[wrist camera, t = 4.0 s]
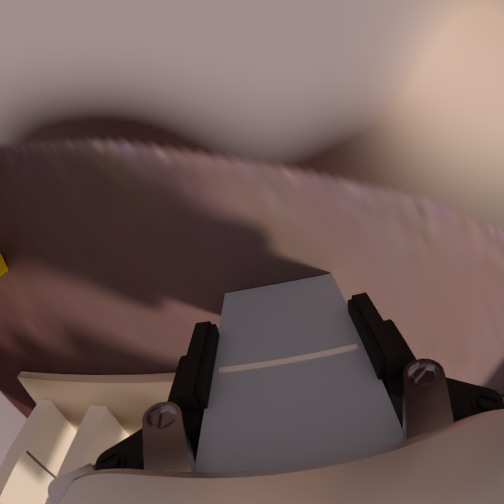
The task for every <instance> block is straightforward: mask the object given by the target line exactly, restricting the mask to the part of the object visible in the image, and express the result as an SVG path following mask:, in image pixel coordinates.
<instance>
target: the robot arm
mask: <svg viewBox="0 0 504 504" xmlns="http://www.w3.org/2000/svg"><path fill="white" fill-rule="evenodd" d="M348 313H349V315H350V317H351V319H352V321H353V324H354V326H355V328H356V330H357V332H358V335H359V337H360V339H361V341H362V343H363V346H364V348H365V350H366V352H367V355H368V357H369V359H370V362H371V364H372V366H373V369H374V371H375V373H376V376H377V378H378V380H381V379H382V382H383V384H384V386H385V389H386V391H387V393H388V396H389V398H390V401H391V403H392V405H393V408H394V410H395V413H396V415H397V418H398V420H399V423H400V425H401V428H402V430H403V441H400V442H397V443H394V444H391V445H388V446H384V447H381V448H377V449H374V450H370V451H366V452H362V453H358V454H354V455H350V456H345V457H341V458H336V459H331V460H326V461H321V462H315V463H309V464H303V465H296V466H289V467H281V468H272V469H261V470H248V471H230V472H197V470H196V465H195V463H196V457H197V451H198V445H199V438H200V432H201V426H202V420H203V414H204V409H208V402H209V396H210V390H211V384H212V378H213V372H214V366H215V360H216V354H217V348H218V342H219V336H220V334H219V331H218V328H217V326H216V324H212V323H211V322H210V321H208V322H201V323H196V325H195V328H194V331H193V335H192V338H191V342H190V345H189V348H188V352H187V355H186V356H182V357H181V358H180V360H179V364H178V367H177V370H176V374H175V377H174V380H173V383H172V387H171V390H170V394H169V397H168V400H167V402H160V403H157V404H154V405H153V406H151V407H150V408H149V409H148V410H147V411H146V412H145V413H144V415H143V419H142V428H141V429H140V430H138V431H137V432H135V433H133V434H132V435H130V436H129V437H127V438H125V439H124V440H122V441H121V442H119V443H117V444H116V445H114V446H112V447H111V448H109V449H107V450H105V451H104V452H103V453H101V454H100V456H99V457H98V458H97V461H96V464H95V465H93V464H92V463H89V464H87V465H85V466H83V467H80V468H78V469H76V470H74V471H71V472H69V473H67V474H64V475H62V476H59V477H57V478H55V479H54V480H52V481H51V483H50V484H49V486H48V495H49V499H50V503H51V504H504V399H503V398H502V397H501V395H500V394H499V393H498V392H497V391H495V390H492V389H490V388H485V387H481V386H477V385H473V384H469V383H465V382H461V381H458V380H454V379H450V378H446V377H445V372H444V369H443V367H442V366H441V365H440V364H439V363H438V362H436V361H434V360H431V359H424V358H421V359H417V360H416V358H415V356H414V355H413V353H412V351H411V350H410V348H409V346H408V345H407V343H406V342H405V340H404V338H403V337H402V335H401V334H400V332H399V330H398V329H397V327H396V326H395V324H394V322H393V321H392V320H390V319H389V320H386V321H383V319H382V318H381V316H380V314H379V313H378V311H377V309H376V308H375V306H374V304H373V303H372V301H371V300H370V298H369V296H368V295H367V293H361V294H356V295H352V299H351V300H348Z"/></svg>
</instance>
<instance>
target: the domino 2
mask: <svg viewBox="0 0 504 504" xmlns="http://www.w3.org/2000/svg"><path fill="white" fill-rule="evenodd" d="M127 437H129V435H128V433H127V432H126V431H125V430H124V428H123V427H122V426H121V425H120V423H119V422H118V421H117V419H116V418H115V417H114V415H113V414H112V413H111V411H110V410H109V409H108V407H107V406H96V405H90V406H89V408H88V410H87V412H86V414H85V416H84V418H83V420H82V422H81V424H80V426H79V428H78V431H77V433H76V435H75V437H74V439H73V441H72V443H71V445H70V447H69V450H68V452H67V454H66V456H65V458H64V460H63V463H62V465H61V467H60V469H59V472H58V474H57V476H56V478H57V477H59V476H62V475H64V474H67V473H69V472H71V471H74V470H76V469H78V468H80V467H83V466H85V465H87V464H89V463H92V464H93V465H95V464H96V461H97V458H98V457H99V456H100V454H101V453H103V452H104V451H105V450H107V449H109V448H111V447H112V446H114V445H116V444H117V443H119V442H121V441H122V440H124V439H125V438H127ZM45 504H51V503H50V499H49V495H48V498H47V500H46V503H45Z"/></svg>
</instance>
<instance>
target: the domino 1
mask: <svg viewBox="0 0 504 504" xmlns="http://www.w3.org/2000/svg"><path fill="white" fill-rule="evenodd" d="M76 433H77V431H76V430H75V429H74V428H73V427H72V425H71V424H70V423H69V422H68V421H67V419H66V418H65V417H64V416H63V415H62V413H61V412H60V411H59V410H58V408H57V407H56V406H55V404H54V403H53V402H52V401H49V400H42V399H40V400H39V402H38V403H37V405H36V406H35V408H34V409H33V411H32V413H31V414H30V416H29V417H28V419H27V421H26V423H25V424H24V426H23V428H22V429H21V431H20V433H19V434H18V436H17V438H16V439H15V441H14V443H13V445H12V446H11V448H10V450H9V452H8V454H7V455H6V457H5V459H4V461H3V463H2V465H1V467H0V504H45V503H46V500H47V498H48V486H49V484H50V483H51V481H52V480H54V479H55V478H56V476H57V474H58V472H59V469H60V467H61V465H62V463H63V460H64V458H65V456H66V454H67V452H68V450H69V447H70V445H71V443H72V441H73V439H74V437H75V435H76Z"/></svg>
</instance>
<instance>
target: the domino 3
mask: <svg viewBox="0 0 504 504" xmlns="http://www.w3.org/2000/svg"><path fill="white" fill-rule="evenodd" d="M218 331H219V334H220V336H219V342H218V348H217V354H216V360H215V366H214V372H213V378H212V384H211V390H210V396H209V402H208V409H204V414H203V420H202V426H201V432H200V438H199V445H198V451H197V457H196V463H195V465H196V470H197V472H230V471H248V470H261V469H272V468H281V467H289V466H296V465H303V464H309V463H315V462H321V461H326V460H331V459H336V458H341V457H345V456H350V455H354V454H358V453H362V452H366V451H370V450H374V449H377V448H381V447H384V446H388V445H391V444H394V443H397V442H400V441H403V430H402V428H401V425H400V423H399V420H398V418H397V415H396V413H395V410H394V408H393V405H392V403H391V401H390V398H389V396H388V393H387V391H386V389H385V386H384V384H383V382H382V379H381V380H378V378H377V376H376V373H375V371H374V369H373V366H372V364H371V362H370V359H369V357H368V355H367V352H366V350H365V348H364V346H363V343H362V341H361V339H360V337H359V335H358V332H357V330H356V328H355V326H354V324H353V321H352V319H351V317H350V315H349V313H348V306H347V304H346V302H345V299H344V297H343V295H342V293H341V291H340V289H339V287H338V285H337V283H336V281H335V279H334V277H333V275H332V273H331V274H326V275H321V276H316V277H310V278H305V279H300V280H295V281H290V282H285V283H279V284H274V285H268V286H263V287H257V288H252V289H246V290H240V291H235V292H229V293H225V297H224V302H223V308H222V313H221V318H220V324H219V329H218Z"/></svg>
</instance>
